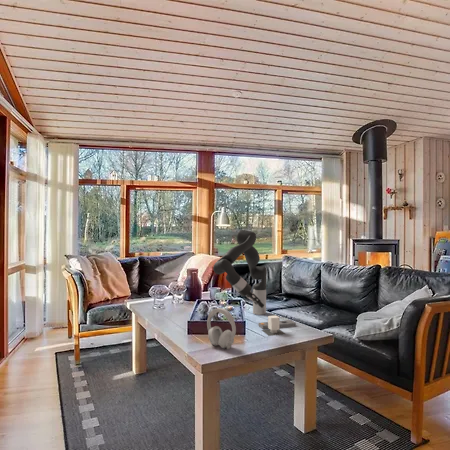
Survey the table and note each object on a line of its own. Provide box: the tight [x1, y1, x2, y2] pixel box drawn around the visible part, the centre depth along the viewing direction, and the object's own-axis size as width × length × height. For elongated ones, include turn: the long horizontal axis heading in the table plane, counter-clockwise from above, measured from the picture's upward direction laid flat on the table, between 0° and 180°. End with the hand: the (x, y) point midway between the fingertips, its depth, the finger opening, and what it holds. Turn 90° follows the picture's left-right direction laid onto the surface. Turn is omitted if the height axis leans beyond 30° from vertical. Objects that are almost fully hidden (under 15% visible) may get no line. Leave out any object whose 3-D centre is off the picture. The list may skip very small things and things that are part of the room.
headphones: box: [206, 307, 237, 350], centre depth 189 cm, size 19×8×20 cm, turn 47°
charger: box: [267, 315, 281, 333], centre depth 213 cm, size 5×5×9 cm
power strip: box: [257, 319, 297, 330], centre depth 225 cm, size 7×22×3 cm, turn 107°
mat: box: [261, 328, 287, 337], centre depth 213 cm, size 11×11×1 cm
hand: (260, 305), depth 210 cm, fingers open, 8 cm apart
